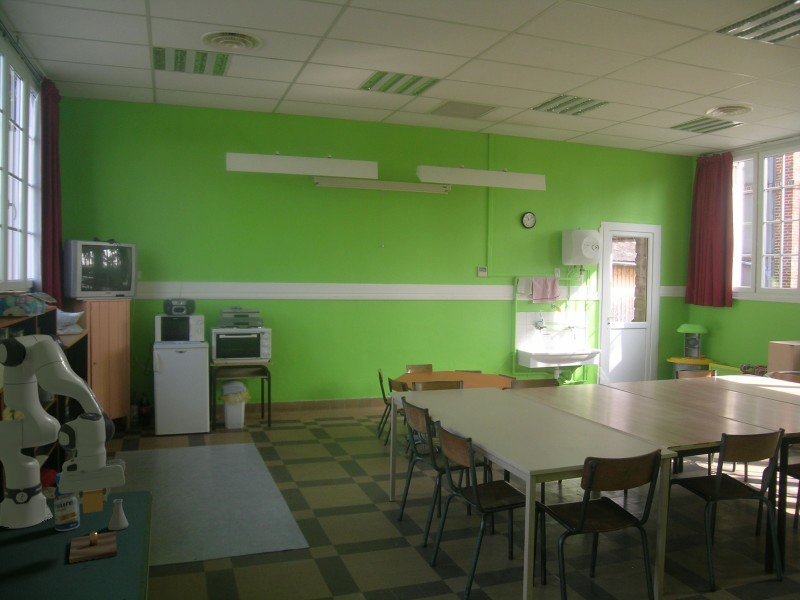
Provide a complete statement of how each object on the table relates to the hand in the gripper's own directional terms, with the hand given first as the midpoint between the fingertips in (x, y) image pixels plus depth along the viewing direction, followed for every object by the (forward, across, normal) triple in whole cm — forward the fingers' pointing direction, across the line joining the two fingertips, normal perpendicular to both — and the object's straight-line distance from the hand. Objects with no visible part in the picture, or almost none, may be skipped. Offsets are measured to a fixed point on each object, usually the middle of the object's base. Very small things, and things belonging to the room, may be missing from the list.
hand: (92, 502), depth 218 cm
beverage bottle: (+16, +9, -25) cm, 31 cm away
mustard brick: (+2, 0, 0) cm, 2 cm away
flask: (+16, -8, -18) cm, 25 cm away
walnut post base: (+16, 0, 0) cm, 16 cm away
